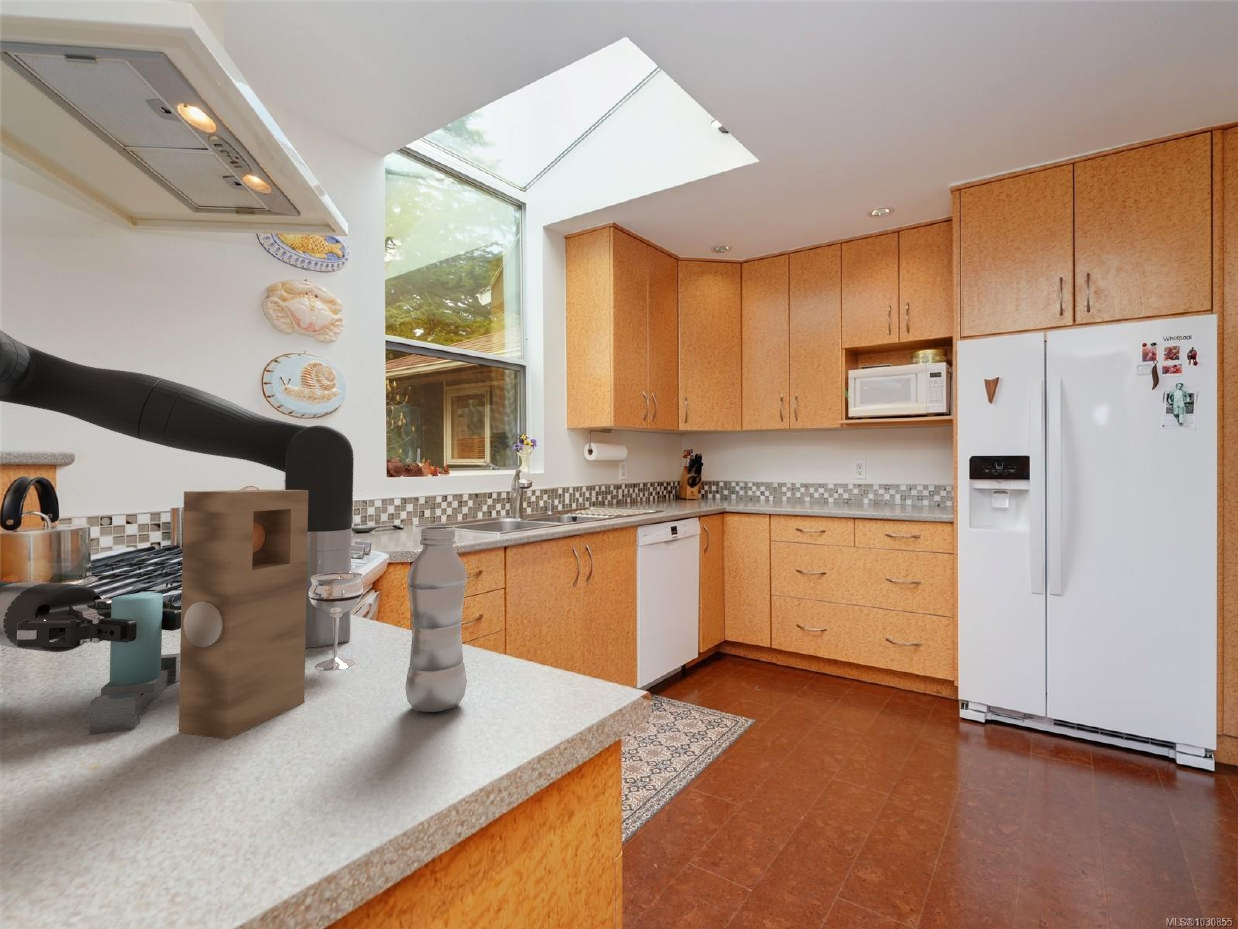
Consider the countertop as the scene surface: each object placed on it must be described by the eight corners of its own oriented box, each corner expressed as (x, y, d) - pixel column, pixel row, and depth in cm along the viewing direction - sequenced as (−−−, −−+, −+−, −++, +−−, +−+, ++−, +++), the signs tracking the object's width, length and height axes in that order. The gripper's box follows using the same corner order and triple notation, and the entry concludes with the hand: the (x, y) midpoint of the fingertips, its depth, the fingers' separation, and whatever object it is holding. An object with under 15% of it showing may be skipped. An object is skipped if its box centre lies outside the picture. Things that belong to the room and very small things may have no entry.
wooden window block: (174, 734, 60) (180, 491, 60) (260, 697, 70) (264, 489, 70) (223, 741, 58) (229, 492, 59) (304, 702, 68) (308, 490, 69)
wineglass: (334, 654, 86) (336, 570, 87) (372, 660, 84) (374, 573, 84) (295, 669, 80) (296, 578, 80) (335, 675, 78) (336, 581, 78)
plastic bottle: (477, 701, 69) (480, 526, 70) (442, 724, 63) (445, 531, 63) (430, 694, 71) (433, 524, 72) (391, 715, 65) (394, 529, 65)
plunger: (186, 552, 65) (187, 522, 65) (213, 548, 68) (213, 519, 68) (239, 554, 63) (240, 523, 63) (264, 551, 66) (265, 521, 66)
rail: (179, 678, 76) (180, 653, 76) (134, 729, 61) (135, 697, 61) (144, 682, 74) (144, 656, 74) (89, 734, 59) (90, 702, 60)
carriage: (167, 679, 69) (169, 591, 69) (154, 692, 65) (156, 599, 65) (117, 684, 67) (119, 594, 68) (100, 698, 63) (103, 602, 63)
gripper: (-38, 594, 63) (85, 604, 59) (107, 573, 77) (216, 580, 73) (-41, 667, 63) (83, 682, 59) (106, 632, 77) (214, 643, 73)
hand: (156, 625), depth 66 cm, fingers closed on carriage, 4 cm apart
